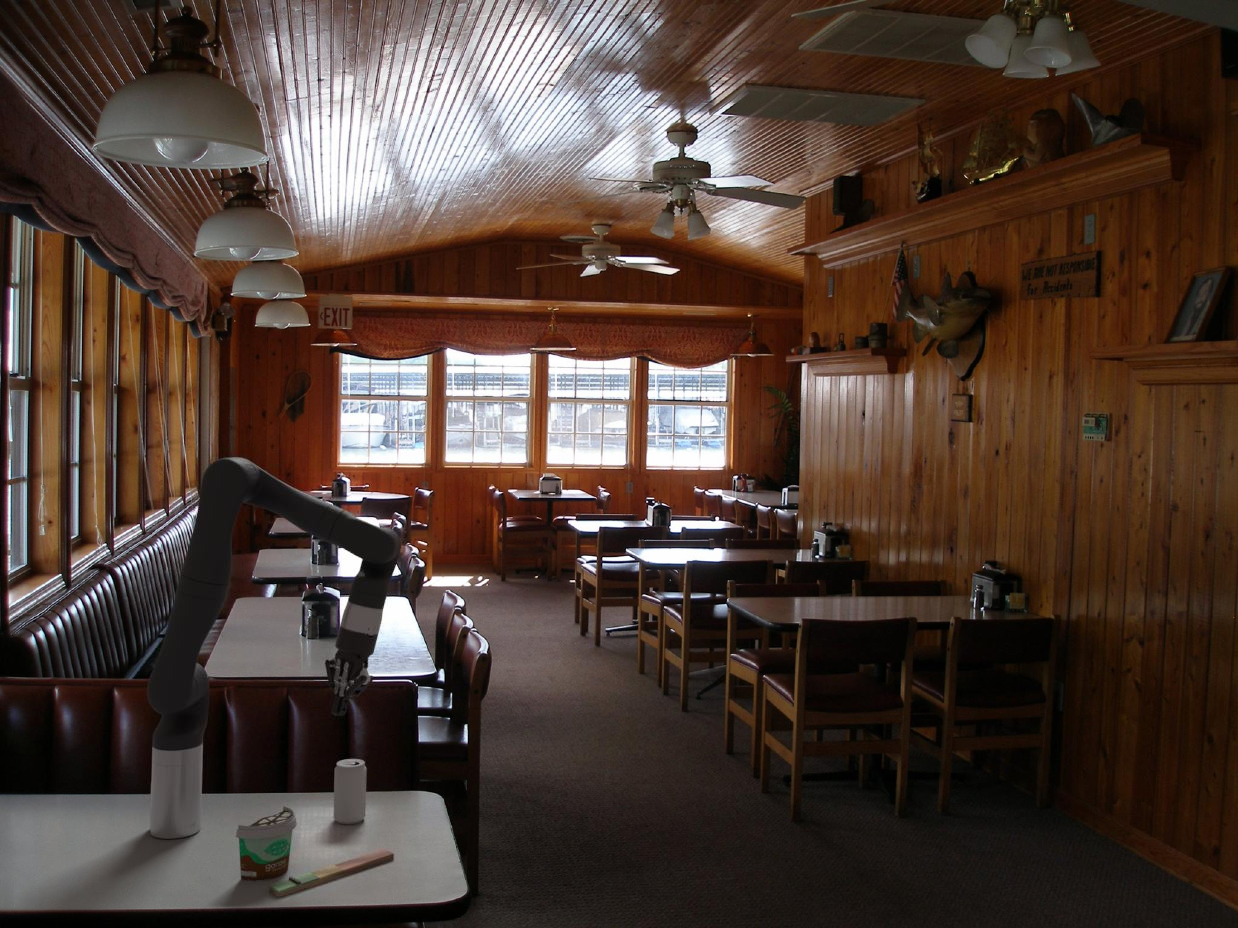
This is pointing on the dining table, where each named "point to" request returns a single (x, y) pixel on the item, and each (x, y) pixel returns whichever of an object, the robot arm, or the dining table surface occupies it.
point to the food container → (266, 846)
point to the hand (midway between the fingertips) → (337, 714)
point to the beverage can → (350, 791)
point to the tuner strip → (330, 873)
